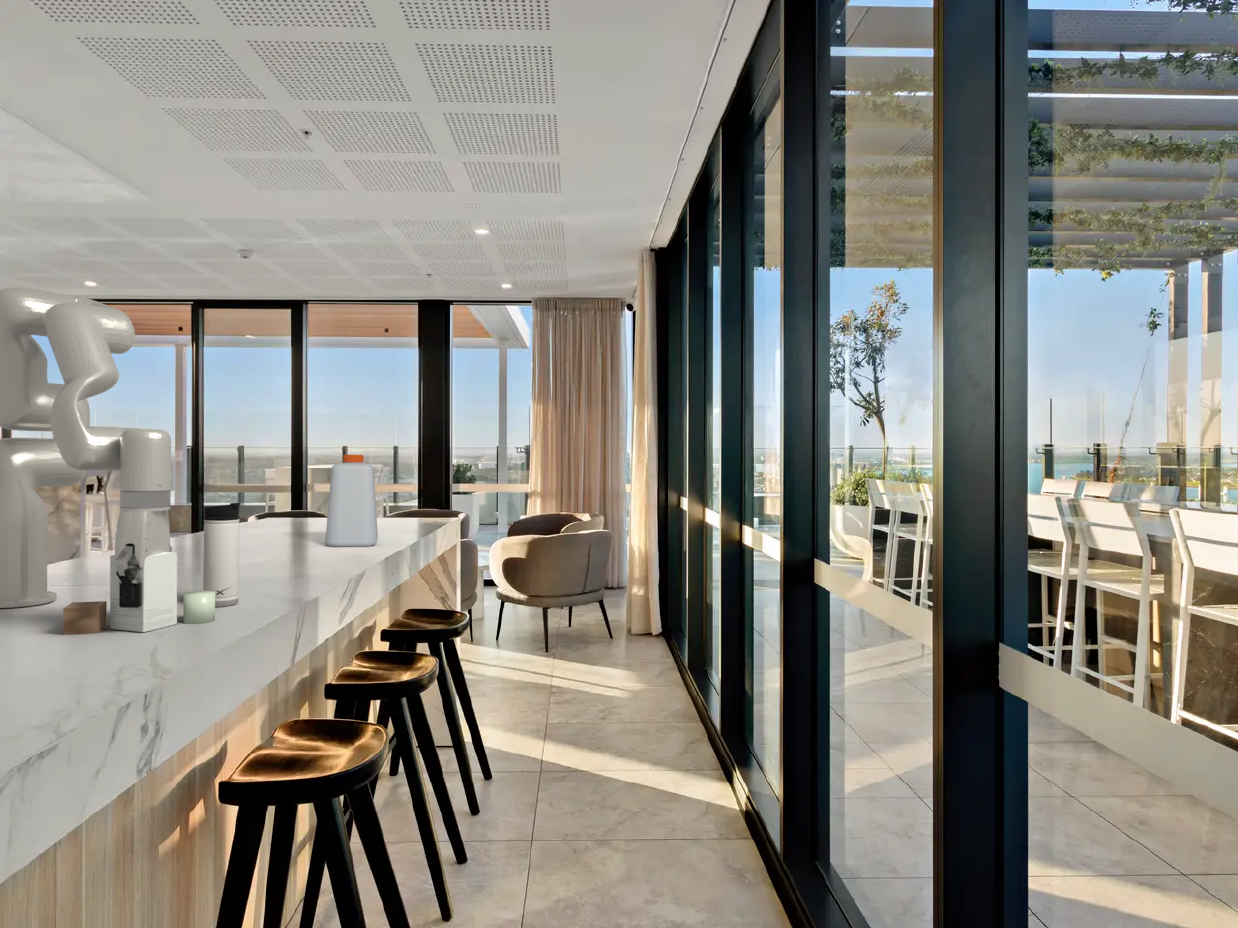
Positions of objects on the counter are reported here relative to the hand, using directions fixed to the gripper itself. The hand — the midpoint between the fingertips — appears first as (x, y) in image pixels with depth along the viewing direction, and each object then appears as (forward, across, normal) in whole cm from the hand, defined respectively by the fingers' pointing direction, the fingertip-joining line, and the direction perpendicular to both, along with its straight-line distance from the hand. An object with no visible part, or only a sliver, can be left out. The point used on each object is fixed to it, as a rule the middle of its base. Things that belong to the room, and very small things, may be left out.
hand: (144, 601), depth 141 cm
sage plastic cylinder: (+4, -5, +7) cm, 10 cm away
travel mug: (+5, -20, +5) cm, 21 cm away
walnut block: (+4, +3, -8) cm, 10 cm away
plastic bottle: (+4, -116, +7) cm, 116 cm away
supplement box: (+5, 0, 0) cm, 5 cm away
